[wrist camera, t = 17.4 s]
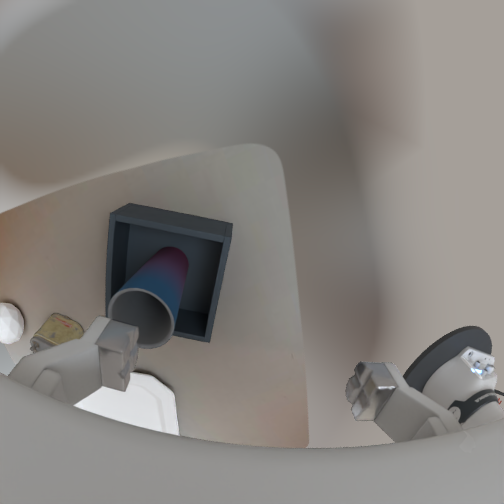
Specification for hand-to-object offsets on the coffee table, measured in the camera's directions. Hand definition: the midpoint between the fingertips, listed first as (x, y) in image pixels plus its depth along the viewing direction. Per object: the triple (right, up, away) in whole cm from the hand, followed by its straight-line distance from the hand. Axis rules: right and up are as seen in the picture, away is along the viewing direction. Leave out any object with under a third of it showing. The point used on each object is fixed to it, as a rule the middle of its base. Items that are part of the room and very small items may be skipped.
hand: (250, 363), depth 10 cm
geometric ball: (-45, -8, +34) cm, 57 cm away
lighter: (-32, -9, +35) cm, 48 cm away
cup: (-11, +2, +31) cm, 33 cm away
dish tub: (-11, +2, +32) cm, 34 cm away
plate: (-27, -27, +41) cm, 56 cm away
